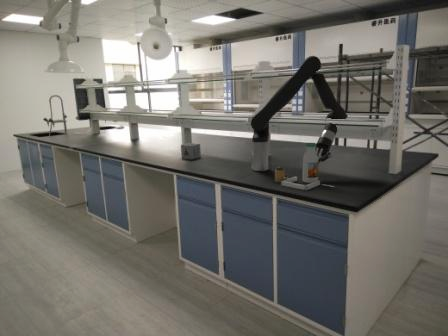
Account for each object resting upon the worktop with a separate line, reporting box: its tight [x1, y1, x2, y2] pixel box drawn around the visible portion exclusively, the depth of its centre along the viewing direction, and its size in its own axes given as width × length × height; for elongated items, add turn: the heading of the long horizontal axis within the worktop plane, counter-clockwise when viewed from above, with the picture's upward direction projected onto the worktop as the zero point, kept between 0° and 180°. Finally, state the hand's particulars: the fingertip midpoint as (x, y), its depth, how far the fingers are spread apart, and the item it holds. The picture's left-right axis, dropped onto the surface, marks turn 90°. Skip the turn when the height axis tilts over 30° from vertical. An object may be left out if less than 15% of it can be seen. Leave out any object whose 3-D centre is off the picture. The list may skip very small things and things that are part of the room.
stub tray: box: [280, 176, 321, 191], centre depth 166 cm, size 14×13×2 cm
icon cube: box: [180, 142, 202, 160], centre depth 245 cm, size 10×10×10 cm
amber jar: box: [274, 166, 286, 184], centre depth 173 cm, size 5×5×8 cm
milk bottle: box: [302, 142, 319, 184], centre depth 169 cm, size 8×8×20 cm
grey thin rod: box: [285, 177, 335, 188], centre depth 171 cm, size 29×1×1 cm, turn 45°
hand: (314, 166), depth 173 cm, fingers closed
